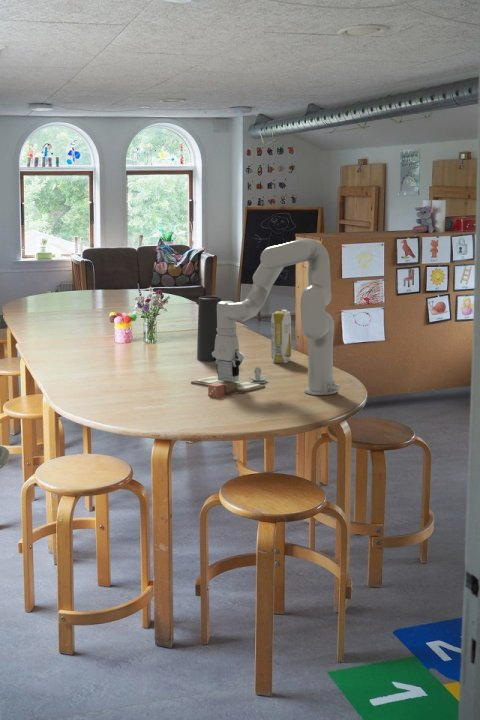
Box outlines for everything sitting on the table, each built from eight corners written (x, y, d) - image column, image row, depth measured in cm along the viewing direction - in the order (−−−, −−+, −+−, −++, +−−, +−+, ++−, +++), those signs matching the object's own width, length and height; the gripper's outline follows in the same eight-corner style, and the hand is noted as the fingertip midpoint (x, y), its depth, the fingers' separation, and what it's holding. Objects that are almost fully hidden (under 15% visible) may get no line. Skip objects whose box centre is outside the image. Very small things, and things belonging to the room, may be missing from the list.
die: (224, 384, 342) (216, 386, 339) (224, 395, 343) (216, 397, 340) (216, 382, 345) (208, 384, 342) (216, 393, 346) (208, 396, 343)
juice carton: (287, 364, 400) (286, 311, 395) (270, 363, 402) (269, 310, 398) (292, 360, 409) (292, 308, 404) (276, 359, 411) (275, 308, 406)
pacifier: (269, 383, 363) (264, 380, 368) (269, 369, 361) (264, 365, 367) (252, 385, 360) (247, 381, 366) (252, 370, 359) (247, 367, 365)
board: (265, 387, 355) (265, 384, 354) (243, 393, 345) (243, 390, 345) (212, 378, 374) (212, 375, 374) (191, 383, 364) (191, 380, 364)
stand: (237, 392, 347) (236, 382, 346) (226, 395, 343) (226, 385, 342) (225, 390, 351) (225, 380, 350) (215, 393, 346) (215, 383, 346)
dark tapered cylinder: (231, 358, 414) (230, 297, 408) (207, 362, 406) (205, 300, 401) (215, 354, 425) (214, 294, 419) (191, 358, 418) (189, 297, 412)
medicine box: (239, 380, 358) (238, 359, 357) (232, 382, 355) (231, 361, 353) (224, 378, 363) (224, 357, 362) (217, 380, 360) (216, 359, 358)
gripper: (204, 331, 358) (206, 373, 362) (236, 335, 347) (237, 378, 350) (217, 328, 364) (218, 370, 367) (249, 332, 352) (250, 375, 356)
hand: (227, 374), depth 359 cm, fingers closed on medicine box, 8 cm apart
